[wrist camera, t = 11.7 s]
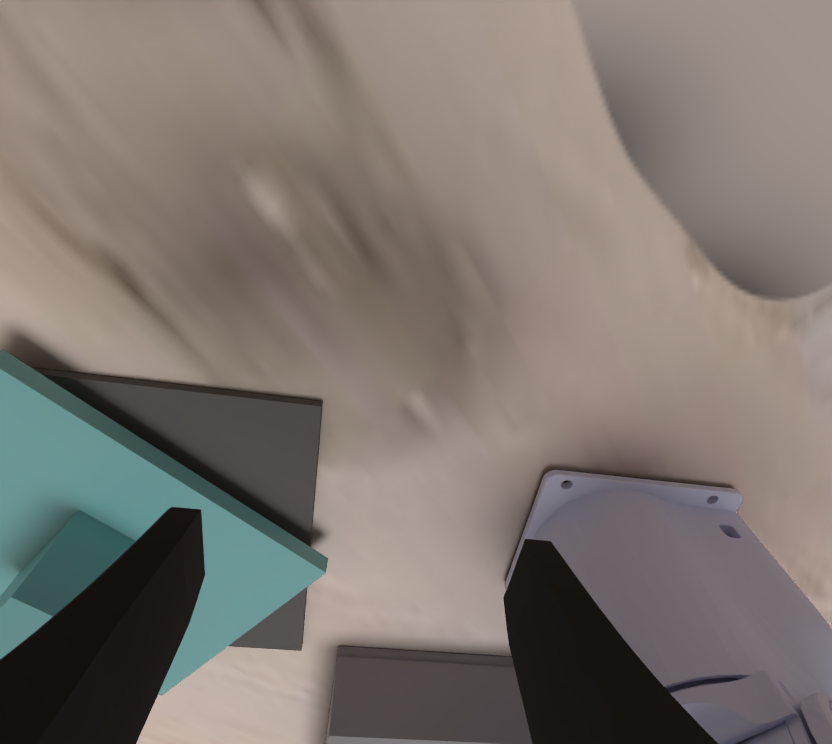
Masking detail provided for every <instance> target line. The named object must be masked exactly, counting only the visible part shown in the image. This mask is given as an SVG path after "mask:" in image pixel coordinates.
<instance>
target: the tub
mask: <svg viewBox="0 0 832 744" xmlns="http://www.w3.org/2000/svg"><path fill="white" fill-rule="evenodd" d="M325 744H532V740H531V735H530V731H529V727H528V723H527V719H526V714H525V710H524V706H523V702H522V698H521V694H520V689H519V685H518V681H517V677H516V672H515V668H514V664H513V659H512V657H502V656H487V655H471V654H455V653H440V652H424V651H409V650H393V649H377V648H362V647H346V646H338V653H337V660H336V667H335V674H334V681H333V689H332V696H331V703H330V710H329V717H328V725H327V732H326V739H325Z"/></svg>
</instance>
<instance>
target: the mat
mask: <svg viewBox="0 0 832 744" xmlns="http://www.w3.org/2000/svg"><path fill="white" fill-rule="evenodd" d="M32 369H34V370H35V371H37V372H39V373H40V374H42V375H43V376H45V377H46V378H48V379H49V380H51V381H53V382H54V383H56V384H57V385H59V386H60V387H62V388H63V389H65V390H67V391H68V392H70V393H71V394H73V395H74V396H76V397H77V398H79V399H81V400H82V401H84V402H85V403H87V404H88V405H90V406H91V407H93V408H95V409H96V410H98V411H99V412H101V413H102V414H104V415H105V416H107V417H109V418H110V419H112V420H113V421H115V422H116V423H118V424H120V425H121V426H123V427H124V428H126V429H127V430H129V431H130V432H132V433H134V434H135V435H137V436H138V437H140V438H141V439H143V440H144V441H146V442H148V443H149V444H151V445H152V446H154V447H155V448H157V449H158V450H160V451H162V452H163V453H165V454H166V455H168V456H169V457H171V458H172V459H174V460H176V461H177V462H179V463H180V464H182V465H183V466H185V467H187V468H188V469H190V470H191V471H193V472H194V473H196V474H197V475H199V476H201V477H202V478H204V479H205V480H207V481H208V482H210V483H211V484H213V485H215V486H216V487H218V488H219V489H221V490H222V491H224V492H225V493H227V494H229V495H230V496H232V497H233V498H235V499H236V500H238V501H239V502H241V503H243V504H244V505H246V506H247V507H249V508H250V509H252V510H253V511H255V512H257V513H258V514H260V515H261V516H263V517H264V518H266V519H268V520H269V521H271V522H272V523H274V524H275V525H277V526H278V527H280V528H282V529H283V530H285V531H286V532H288V533H289V534H291V535H292V536H294V537H296V538H297V539H299V540H300V541H302V542H303V543H305V544H306V545H308V546H310V547H311V535H312V523H313V511H314V500H315V488H316V476H317V464H318V452H319V440H320V428H321V416H322V404H323V401H316V400H308V399H299V398H290V397H282V396H273V395H264V394H256V393H247V392H239V391H230V390H221V389H213V388H204V387H195V386H187V385H178V384H169V383H161V382H152V381H144V380H135V379H126V378H118V377H109V376H100V375H92V374H83V373H74V372H66V371H57V370H49V369H40V368H32ZM306 595H307V587H306V588H305V589H303V590H302V591H301V592H299V593H298V594H297V595H295V596H294V597H293V598H291V599H290V600H289V601H287V602H286V603H285V604H283V605H282V606H281V607H279V608H278V609H277V610H275V611H274V612H273V613H271V614H270V615H269V616H267V617H266V618H265V619H263V620H262V621H261V622H259V623H258V624H257V625H255V626H254V627H253V628H251V629H250V630H249V631H247V632H246V633H245V634H243V635H242V636H241V637H239V638H238V639H237V640H235V641H234V642H233V643H231V644H230V645H229V646H234V647H250V648H266V649H282V650H298V651H301V649H302V643H303V631H304V619H305V607H306Z"/></svg>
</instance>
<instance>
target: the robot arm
mask: <svg viewBox="0 0 832 744" xmlns="http://www.w3.org/2000/svg"><path fill="white" fill-rule="evenodd" d="M566 480H569V481H568V482H567V483H562V482H564V481H566ZM742 500H743V496H742V495H741V494H740V493H739V492H738V491H737V490H736V489H732V488H723V487H714V486H704V485H695V484H685V483H676V482H667V481H657V480H648V479H639V478H629V477H620V476H610V475H601V474H592V473H582V472H573V471H563V470H551V471H549V472H547V473H546V474H545V475H544V477H543V479H542V482H541V484H540V487H539V490H538V493H537V496H536V498H535V501H534V504H533V507H532V510H531V512H530V515H529V518H528V521H527V523H526V526H525V529H524V532H523V535H522V537H521V540H520V543H519V546H518V549H517V551H516V554H515V557H514V560H513V562H512V565H511V568H510V571H509V574H508V576H507V579H506V582H505V588H506V593H505V595H504V606H505V615H506V624H507V632H508V639H509V646H510V651H511V655H512V659H513V664H514V668H515V672H516V677H517V681H518V685H519V689H520V694H521V698H522V702H523V706H524V710H525V714H526V719H527V723H528V727H529V731H530V735H531V740H532V744H832V629H831V628H830V626H829V624H828V623H827V622H826V620H825V619H824V618H823V616H822V615H821V614H820V613H819V611H818V610H817V609H816V608H815V607H814V605H813V604H812V603H811V602H810V601H809V599H808V598H807V597H806V596H805V595H804V593H803V592H802V591H801V590H800V589H799V587H798V586H797V585H796V584H795V583H794V581H793V580H792V579H791V578H790V577H789V575H788V574H787V573H786V572H785V571H784V569H783V568H782V567H781V566H780V565H779V563H778V562H777V561H776V560H775V559H774V557H773V556H772V555H771V554H770V553H769V551H768V550H767V549H766V548H765V547H764V545H763V544H762V543H761V542H760V541H759V539H758V538H757V537H756V536H755V535H754V533H753V532H752V531H751V530H750V529H749V527H748V526H747V525H746V524H745V523H744V521H743V520H742V519H741V518H740V517H739V515H738V514H737V513H736V511H737V509H738V508H739V506H740V505H741V503H742ZM204 577H205V565H204V548H203V530H202V513H201V509H191V508H180V507H171V508H169V509H168V510H167V511H166V512H165V513H164V514H163V515H162V516H161V517H160V518H159V519H158V520H157V521H156V522H155V523H154V524H153V525H152V526H151V527H150V528H149V529H148V530H147V531H146V532H145V533H144V534H143V535H142V536H141V537H140V538H139V539H138V540H137V541H136V542H135V543H134V544H132V545H131V546H130V547H129V548H128V549H127V550H126V551H125V552H124V553H123V554H122V555H121V556H120V557H119V558H118V559H117V560H116V561H115V562H114V563H113V564H112V565H110V566H109V567H108V568H107V569H106V570H105V571H104V572H103V573H102V574H101V575H100V576H98V577H97V578H96V579H95V580H94V581H93V582H92V583H91V584H90V585H89V586H88V587H87V588H85V589H84V590H83V591H82V592H81V593H80V594H79V595H78V596H76V597H75V598H74V599H73V600H72V601H71V602H69V603H68V604H67V605H66V606H65V607H64V608H62V609H61V610H60V611H59V612H58V613H57V614H55V615H54V616H53V617H52V618H51V619H49V620H48V621H47V622H46V623H45V624H44V625H42V626H41V627H40V628H39V629H38V630H37V631H35V632H34V633H33V634H32V635H30V636H29V637H28V638H27V639H25V640H24V641H23V642H22V643H20V644H19V645H18V646H17V647H15V648H14V649H13V650H12V651H10V652H9V653H8V654H7V655H5V656H4V657H3V658H1V659H0V744H136V742H137V740H138V738H139V735H140V733H141V731H142V729H143V726H144V724H145V722H146V720H147V718H148V715H149V713H150V711H151V709H152V706H153V704H154V702H155V700H156V698H157V695H158V693H159V691H160V689H161V686H162V684H163V682H164V680H165V677H166V675H167V673H168V671H169V669H170V666H171V664H172V662H173V660H174V657H175V655H176V653H177V651H178V648H179V646H180V644H181V642H182V639H183V637H184V635H185V632H186V630H187V628H188V625H189V623H190V620H191V617H192V614H193V611H194V608H195V605H196V602H197V599H198V596H199V593H200V589H201V586H202V583H203V580H204Z"/></svg>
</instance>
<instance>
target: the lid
mask: <svg viewBox="0 0 832 744" xmlns="http://www.w3.org/2000/svg"><path fill="white" fill-rule="evenodd" d="M171 507H180V508H191V509H201V513H202V530H203V548H204V565H205V577H204V580H203V583H202V586H201V589H200V593H199V596H198V599H197V602H196V605H195V608H194V611H193V614H192V617H191V620H190V623H189V625H188V628H187V630H186V632H185V635H184V637H183V639H182V642H181V644H180V646H179V648H178V651H177V653H176V655H175V657H174V660H173V662H172V664H171V666H170V669H169V671H168V673H167V675H166V677H165V680H164V682H163V684H162V686H161V689H160V691H159V693H158V694H159V695H161V696H162V695H163V694H164V693H166V692H167V691H168V690H170V689H171V688H172V687H174V686H175V685H177V684H178V683H179V682H181V681H182V680H183V679H185V678H186V677H187V676H189V675H190V674H191V673H193V672H194V671H195V670H197V669H198V668H199V667H201V666H202V665H203V664H205V663H206V662H207V661H209V660H210V659H211V658H213V657H214V656H215V655H217V654H218V653H219V652H221V651H222V650H223V649H225V648H226V647H227V646H229V645H230V644H231V643H233V642H234V641H235V640H237V639H238V638H239V637H241V636H242V635H243V634H245V633H246V632H247V631H249V630H250V629H251V628H253V627H254V626H255V625H257V624H258V623H259V622H261V621H262V620H263V619H265V618H266V617H267V616H269V615H270V614H271V613H273V612H274V611H275V610H277V609H278V608H279V607H281V606H282V605H283V604H285V603H286V602H287V601H289V600H290V599H291V598H293V597H294V596H295V595H297V594H298V593H299V592H301V591H302V590H303V589H305V588H306V587H307V586H309V585H310V584H311V583H313V582H314V581H315V580H317V579H318V578H319V577H321V576H322V575H323V574H325V573H326V568H327V561H328V558H327V557H325V556H324V555H322V554H320V553H319V552H317V551H316V550H314V549H313V548H311V547H310V546H308V545H306V544H305V543H303V542H302V541H300V540H299V539H297V538H296V537H294V536H292V535H291V534H289V533H288V532H286V531H285V530H283V529H282V528H280V527H278V526H277V525H275V524H274V523H272V522H271V521H269V520H268V519H266V518H264V517H263V516H261V515H260V514H258V513H257V512H255V511H253V510H252V509H250V508H249V507H247V506H246V505H244V504H243V503H241V502H239V501H238V500H236V499H235V498H233V497H232V496H230V495H229V494H227V493H225V492H224V491H222V490H221V489H219V488H218V487H216V486H215V485H213V484H211V483H210V482H208V481H207V480H205V479H204V478H202V477H201V476H199V475H197V474H196V473H194V472H193V471H191V470H190V469H188V468H187V467H185V466H183V465H182V464H180V463H179V462H177V461H176V460H174V459H172V458H171V457H169V456H168V455H166V454H165V453H163V452H162V451H160V450H158V449H157V448H155V447H154V446H152V445H151V444H149V443H148V442H146V441H144V440H143V439H141V438H140V437H138V436H137V435H135V434H134V433H132V432H130V431H129V430H127V429H126V428H124V427H123V426H121V425H120V424H118V423H116V422H115V421H113V420H112V419H110V418H109V417H107V416H105V415H104V414H102V413H101V412H99V411H98V410H96V409H95V408H93V407H91V406H90V405H88V404H87V403H85V402H84V401H82V400H81V399H79V398H77V397H76V396H74V395H73V394H71V393H70V392H68V391H67V390H65V389H63V388H62V387H60V386H59V385H57V384H56V383H54V382H53V381H51V380H49V379H48V378H46V377H45V376H43V375H42V374H40V373H39V372H37V371H35V370H34V369H32V368H31V367H29V366H28V365H26V364H24V363H23V362H21V361H20V360H18V359H17V358H15V357H14V356H12V355H10V354H9V353H7V352H6V351H4V350H1V351H0V659H1V658H3V657H4V656H5V655H7V654H8V653H9V652H10V651H12V650H13V649H14V648H15V647H17V646H18V645H19V644H20V643H22V642H23V641H24V640H25V639H27V638H28V637H29V636H30V635H32V634H33V633H34V632H35V631H37V630H38V629H39V628H40V627H41V626H42V625H44V624H45V623H46V622H47V621H48V620H49V619H51V618H52V617H53V616H54V615H55V614H57V613H58V612H59V611H60V610H61V609H62V608H64V607H65V606H66V605H67V604H68V603H69V602H71V601H72V600H73V599H74V598H75V597H76V596H78V595H79V594H80V593H81V592H82V591H83V590H84V589H85V588H87V587H88V586H89V585H90V584H91V583H92V582H93V581H94V580H95V579H96V578H97V577H98V576H100V575H101V574H102V573H103V572H104V571H105V570H106V569H107V568H108V567H109V566H110V565H112V564H113V563H114V562H115V561H116V560H117V559H118V558H119V557H120V556H121V555H122V554H123V553H124V552H125V551H126V550H127V549H128V548H129V547H130V546H131V545H132V544H134V543H135V542H136V541H137V540H138V539H139V538H140V537H141V536H142V535H143V534H144V533H145V532H146V531H147V530H148V529H149V528H150V527H151V526H152V525H153V524H154V523H155V522H156V521H157V520H158V519H159V518H160V517H161V516H162V515H163V514H164V513H165V512H166V511H167V510H168V509H169V508H171Z"/></svg>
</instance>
